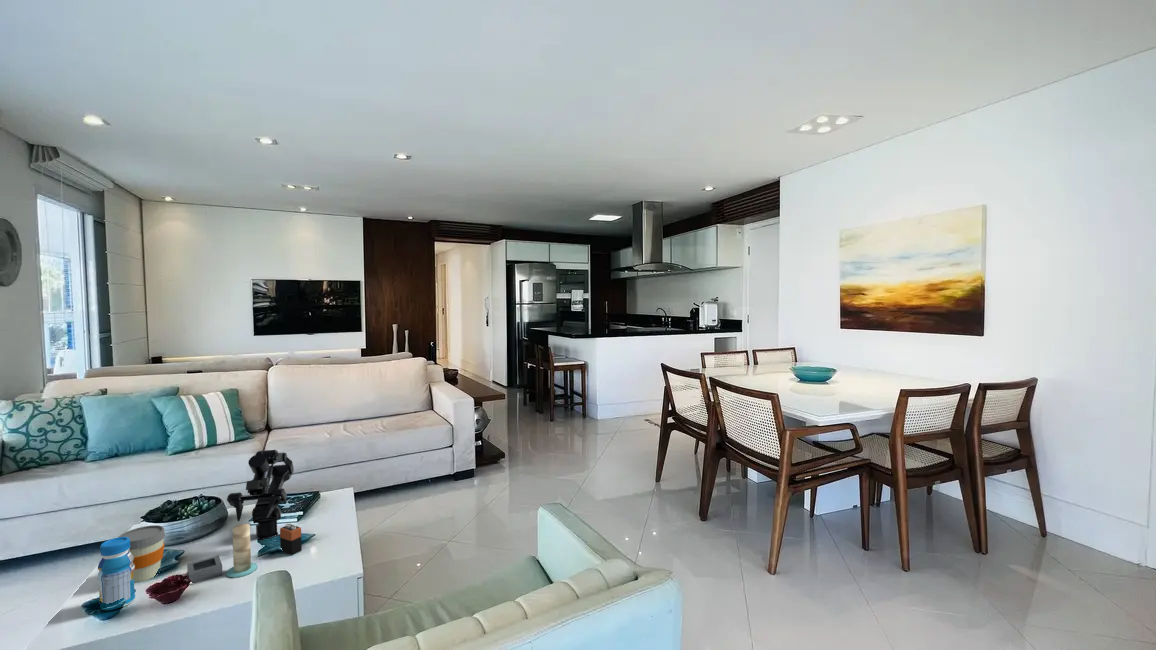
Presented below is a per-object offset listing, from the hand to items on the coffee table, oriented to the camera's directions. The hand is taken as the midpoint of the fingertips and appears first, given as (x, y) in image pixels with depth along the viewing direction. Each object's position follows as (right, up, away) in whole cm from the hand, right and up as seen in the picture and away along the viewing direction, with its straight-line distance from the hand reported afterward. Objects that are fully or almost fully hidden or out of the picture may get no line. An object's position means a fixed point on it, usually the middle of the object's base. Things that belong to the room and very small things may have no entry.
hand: (252, 519), depth 183 cm
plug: (+3, -13, -10) cm, 17 cm away
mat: (+3, -14, -10) cm, 18 cm away
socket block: (-8, -14, -13) cm, 21 cm away
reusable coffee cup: (-29, -14, -14) cm, 35 cm away
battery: (+12, -14, +3) cm, 19 cm away
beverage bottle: (-23, -15, -30) cm, 40 cm away
